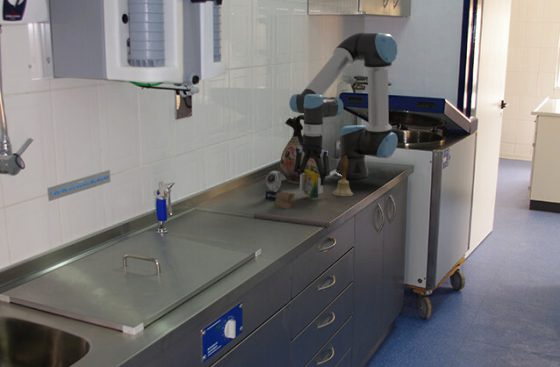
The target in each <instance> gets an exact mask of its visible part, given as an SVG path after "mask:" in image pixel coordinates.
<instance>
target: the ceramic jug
mask: <svg viewBox="0 0 560 367" xmlns="http://www.w3.org/2000/svg"><path fill="white" fill-rule="evenodd" d="M301 120H302V121H304V114H299V115H298V116H294V117H293V118H291V117H289V118H288V119H287V120H286V121H285V122H284V123H285V125H286V126H288V127H290V128H292V129H293V133H292V136H291V138H290V139H289V141H288V142H287V144H286V145H285V147H284V149H283V151H282V153H281V157H280V162H279V168H280V173H282V175H283V176H284V178H285V179H286V182H287V183H289V184H293V185H295V184H297V185H300V182H298V173H297V172H294V166H295V160H296V148H298V147H303V135H304V133H303V132H302V131H303V125H302V123H301ZM302 133H303V134H302ZM304 154H305V153H304V152H302V157H301V163H302V161H303V157H304ZM301 163H300V166H301ZM311 165H312V166H314V167H316V162H315V160H314V159H312V158H309V160H308V162H307V165H306V167H305V169H304V174H305V170H311ZM313 169H314V170H316V169H315V168H313Z"/></svg>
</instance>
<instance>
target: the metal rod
mask: <svg viewBox="0 0 560 367" xmlns="http://www.w3.org/2000/svg"><path fill="white" fill-rule="evenodd" d="M253 215H254V218H258V219H263V220H271V221H279V222H287V223H295V224H302V225H309V226H317V227H325V228H328V227H329V226H330V222H329V221H325V220H318V219H315V220H314V219H308V218H302V217H300V218H299V217H293V216H286V215H278V214H269V213H263V212H262V213H261V212H255V213H254V214H253Z"/></svg>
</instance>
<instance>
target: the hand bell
mask: <svg viewBox="0 0 560 367" xmlns="http://www.w3.org/2000/svg"><path fill="white" fill-rule="evenodd" d="M347 167H348V159H347V156H344V157H343V160H342V177H341V179H339V180H338V181H337V185H336V188H335V190H334V191H333V192H332V195H334V196H336V197H337V196H338V197H352V196H353V195H354V193H353V191H351V188H350V182H349V180H347V178H346V170H347Z"/></svg>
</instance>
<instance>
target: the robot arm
mask: <svg viewBox="0 0 560 367" xmlns="http://www.w3.org/2000/svg"><path fill="white" fill-rule="evenodd" d="M332 53H333V54H332V56H331V57H330V58H329V59H328V60H327V62H326V63H325V64H324V65H323V67H322V68H321V69H320V70H319V72H317V74H316V75H315V76H314V78H313V79H312V80H310V83H308V85H307V86H306V87H305V88H304V90H303V91H302V92H301V93H295V94H292V96H290V98H289V101H288V102H289V108H290V109H291V111H292V112H295V113H298V114H302V115H304V120H303V125H302V126H303V130H302V131H303V132H302V133H303V134H304V135H303V134H302V136H303V147H298V148H296V160H295V166H294V172H297V173H298V182H300V184H299V191H300V192H302V191H304V169H305V167H306V165H307V162H308V160H309V158H312V159H314V160H315V166H316V168H318V171H319V177H318V195H319V194H322V193H324V191H323V190H324V186H325V184H326V177H328V176H331V170H330V161H329V160H330V159H329V155H330V151H329V150H326V149H325V150H324V149H323V134H324V119H325V118H334V117H337V116H340V115H341V114H342V112H343V111H344V102H343V101H342V99H341V98H340V97H338V96H337V97H336V96H331V97H327V96H326V97H325V96H324V95H325V94H326V93H327V91H328V90H329V89H330V88H331V87H332V86H333V84H334V83H335V81H336V80H337V79H338V78H339V77H340V75H342V73H343V72H344V71H345V69H346V68H347V67H350V66H351V65H352V64H353V63H354V62H357V61H363V67H364V68H365V69H366V70H367V93H368V94H367V98H368V99H367V102H368V106H367V107H368V124H367V125H365V124H357V125H356V124H355V125H346V126H343V127H342V128H341V130H340V142H339V159H338V162H337V165H336V167H335V169H334V170H335V171H336V172H337V173H339V174H341V175H342V160H343V157H344V156H347V159H348V167H347V170H346V179H363V178H368V176H369V169H368V165H367V161H366V156H369V157H374V158H378V159H389V158H390V157H392V156H393V155H394V153H395V151H396V150H397V147H398V140H399V139H398V136H397V134H396V133H395V132H393V126H392V125H391V124H390V123H389V69H390V68H391V67H392V63H393V62H395V60H396V58H397V55H398V44H397V42H396V40H395V38H394V37H393V36H392V35H391V34H389V33H383V32H357V33H354V34H351V35H350V36H348V37H347V38H345V39H344V40H342V41H341V42H340V43H339V44H338V45H337V46H336V47H335V49H334V50H333V52H332ZM302 152H304V153H305V154H304V157H303V161H302V163H301V157H302ZM321 155H322V156H321ZM300 163H301V166H300ZM335 171H334V172H335Z"/></svg>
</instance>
